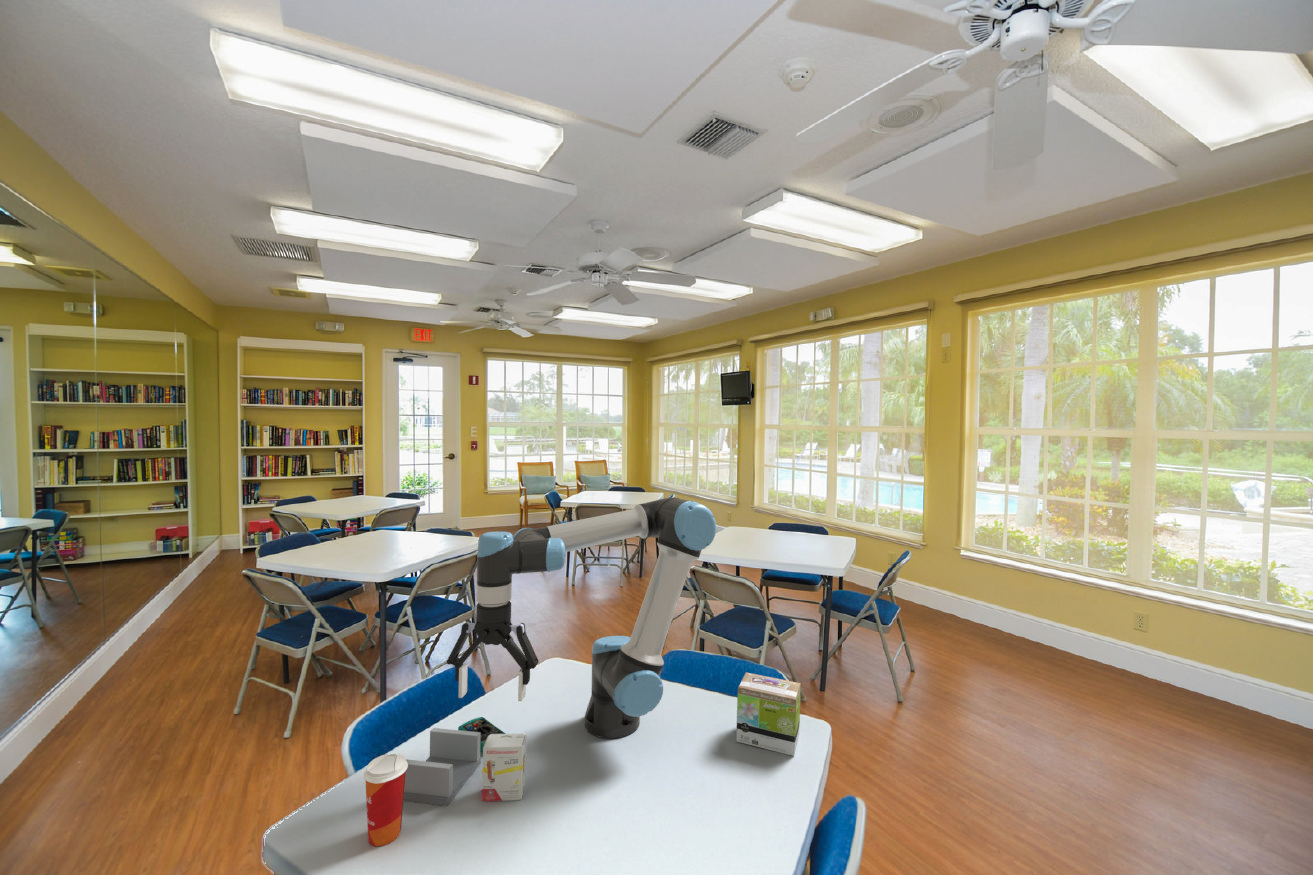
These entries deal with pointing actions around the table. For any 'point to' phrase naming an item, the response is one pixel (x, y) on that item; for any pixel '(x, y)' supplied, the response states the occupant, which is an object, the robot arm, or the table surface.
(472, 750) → the dock
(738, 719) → the tea box
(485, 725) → the digital multimeter
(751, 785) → the table surface
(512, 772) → the ink box
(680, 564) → the robot arm
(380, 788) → the paper cup
